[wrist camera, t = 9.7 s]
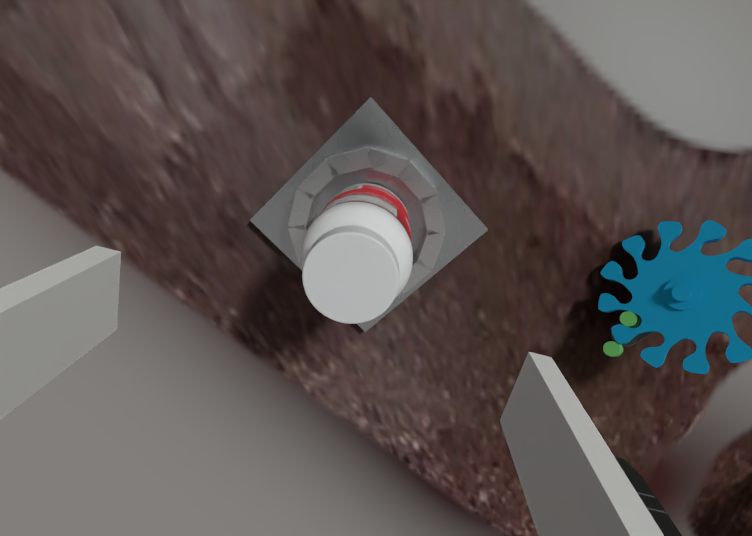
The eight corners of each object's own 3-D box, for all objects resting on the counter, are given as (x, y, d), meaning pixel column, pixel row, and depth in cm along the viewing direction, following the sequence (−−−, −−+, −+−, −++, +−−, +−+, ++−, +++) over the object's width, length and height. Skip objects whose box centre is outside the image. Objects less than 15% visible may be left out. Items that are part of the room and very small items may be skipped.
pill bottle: (389, 278, 33) (384, 356, 22) (312, 247, 32) (269, 311, 22) (424, 201, 31) (436, 246, 20) (342, 167, 30) (310, 195, 20)
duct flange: (252, 218, 32) (242, 225, 30) (371, 97, 29) (369, 96, 27) (365, 328, 35) (363, 341, 33) (486, 227, 32) (492, 235, 30)
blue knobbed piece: (695, 184, 28) (841, 310, 23) (700, 209, 33) (823, 319, 28) (553, 288, 33) (650, 413, 28) (574, 298, 37) (661, 407, 32)
